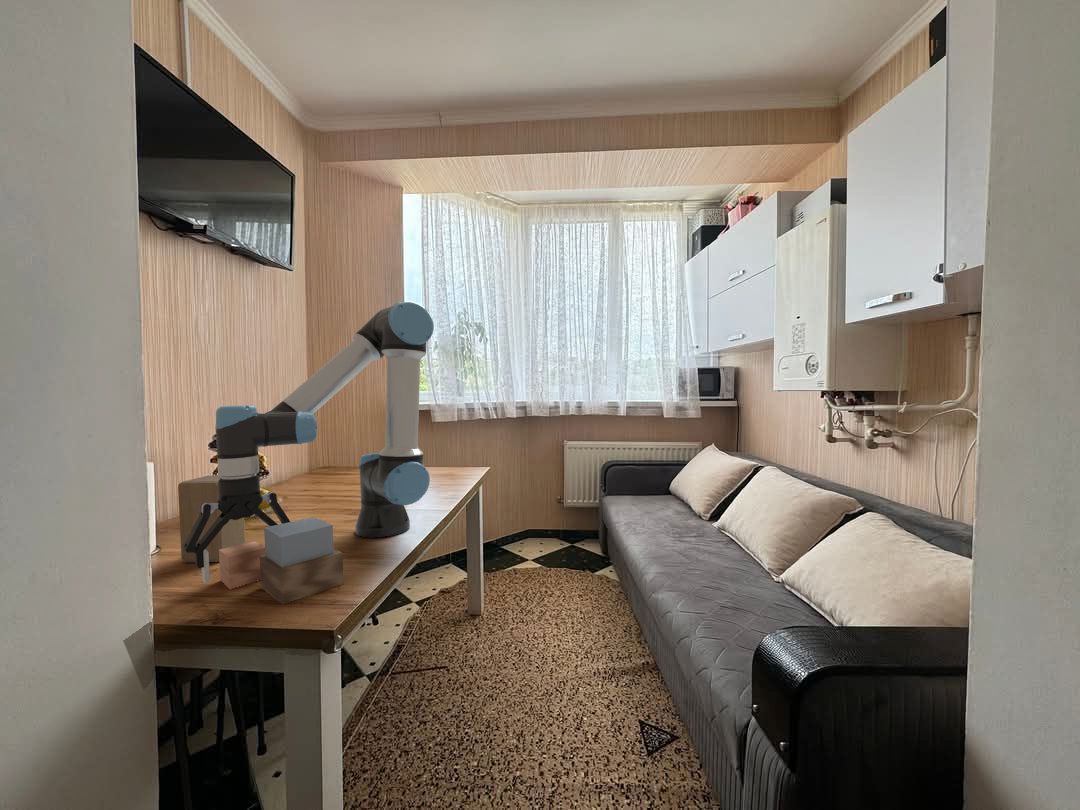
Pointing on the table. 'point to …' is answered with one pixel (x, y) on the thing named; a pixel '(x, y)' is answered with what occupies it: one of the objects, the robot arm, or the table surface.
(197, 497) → the block
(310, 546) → the tower top
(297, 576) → the tower base
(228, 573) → the cube
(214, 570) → the table surface
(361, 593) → the table surface
